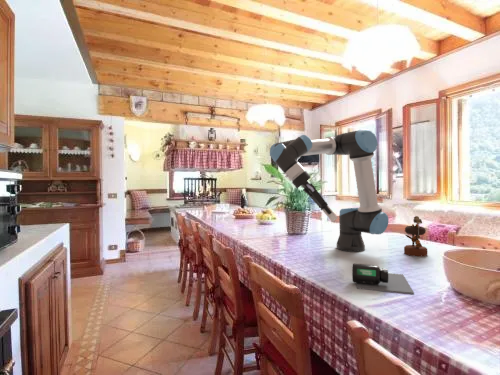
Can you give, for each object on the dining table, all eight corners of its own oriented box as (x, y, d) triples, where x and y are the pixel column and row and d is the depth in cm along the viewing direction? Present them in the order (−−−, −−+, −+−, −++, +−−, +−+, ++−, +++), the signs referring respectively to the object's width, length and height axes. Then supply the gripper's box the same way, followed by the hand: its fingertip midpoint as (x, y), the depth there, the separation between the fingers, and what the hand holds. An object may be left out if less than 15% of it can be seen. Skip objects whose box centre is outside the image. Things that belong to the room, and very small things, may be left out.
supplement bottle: (352, 273, 104) (389, 277, 99) (352, 259, 109) (387, 262, 105) (352, 286, 107) (388, 290, 103) (352, 272, 112) (386, 275, 108)
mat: (357, 288, 103) (357, 287, 103) (355, 271, 122) (355, 270, 122) (414, 294, 97) (414, 292, 97) (402, 275, 116) (402, 274, 116)
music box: (435, 257, 143) (431, 217, 142) (412, 259, 143) (409, 219, 143) (418, 249, 158) (414, 213, 157) (397, 251, 158) (394, 215, 158)
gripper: (290, 182, 128) (325, 224, 125) (291, 179, 115) (331, 226, 112) (303, 172, 128) (338, 214, 125) (306, 167, 115) (346, 214, 112)
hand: (335, 219), depth 118 cm, fingers closed
